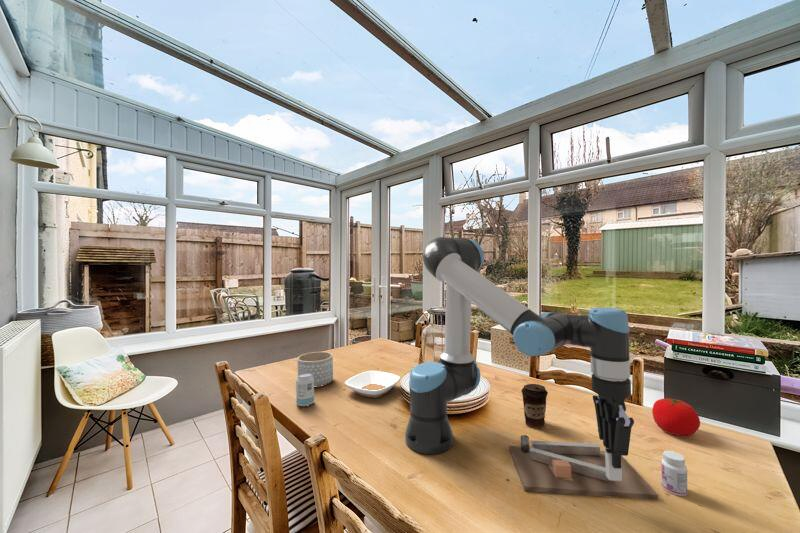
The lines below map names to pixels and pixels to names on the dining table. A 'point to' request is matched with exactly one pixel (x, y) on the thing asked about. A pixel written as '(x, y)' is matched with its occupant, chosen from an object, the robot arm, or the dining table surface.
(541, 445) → the bar
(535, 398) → the coffee cup
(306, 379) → the beverage can
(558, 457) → the bar
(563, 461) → the block
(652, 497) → the board
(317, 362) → the planter
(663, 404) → the tomato
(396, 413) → the dining table surface
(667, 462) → the pill bottle
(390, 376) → the bowl
